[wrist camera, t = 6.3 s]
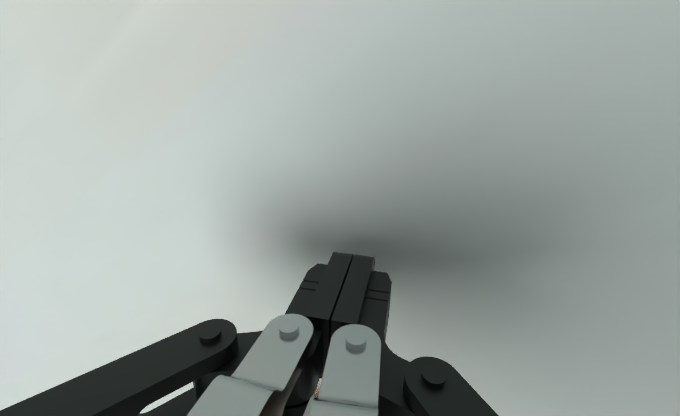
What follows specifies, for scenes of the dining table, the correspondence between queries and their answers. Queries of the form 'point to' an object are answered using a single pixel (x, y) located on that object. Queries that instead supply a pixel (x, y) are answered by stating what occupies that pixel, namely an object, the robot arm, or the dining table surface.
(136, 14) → the dining table surface
